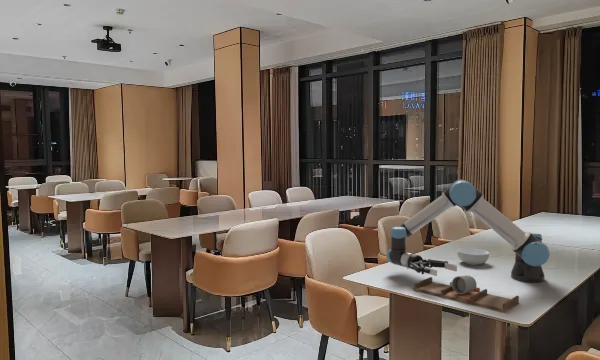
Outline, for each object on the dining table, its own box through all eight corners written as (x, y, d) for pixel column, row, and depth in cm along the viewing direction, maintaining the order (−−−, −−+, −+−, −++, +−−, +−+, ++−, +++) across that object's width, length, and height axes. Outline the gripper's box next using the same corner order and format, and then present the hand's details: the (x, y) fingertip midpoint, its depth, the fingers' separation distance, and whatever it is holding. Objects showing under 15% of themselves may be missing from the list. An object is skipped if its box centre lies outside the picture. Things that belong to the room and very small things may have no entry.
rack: (519, 303, 190) (519, 295, 190) (504, 312, 179) (505, 304, 179) (431, 283, 219) (431, 276, 219) (414, 290, 208) (414, 283, 208)
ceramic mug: (476, 294, 198) (479, 278, 196) (463, 297, 194) (467, 281, 192) (456, 283, 207) (460, 268, 205) (444, 286, 203) (447, 270, 201)
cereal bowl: (467, 267, 248) (468, 255, 247) (451, 260, 264) (451, 248, 264) (495, 266, 251) (495, 253, 251) (477, 259, 267) (477, 247, 267)
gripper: (429, 265, 231) (464, 274, 213) (393, 272, 218) (427, 283, 200) (429, 250, 231) (464, 258, 213) (393, 257, 218) (427, 266, 200)
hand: (446, 270), depth 206 cm, fingers open, 13 cm apart
